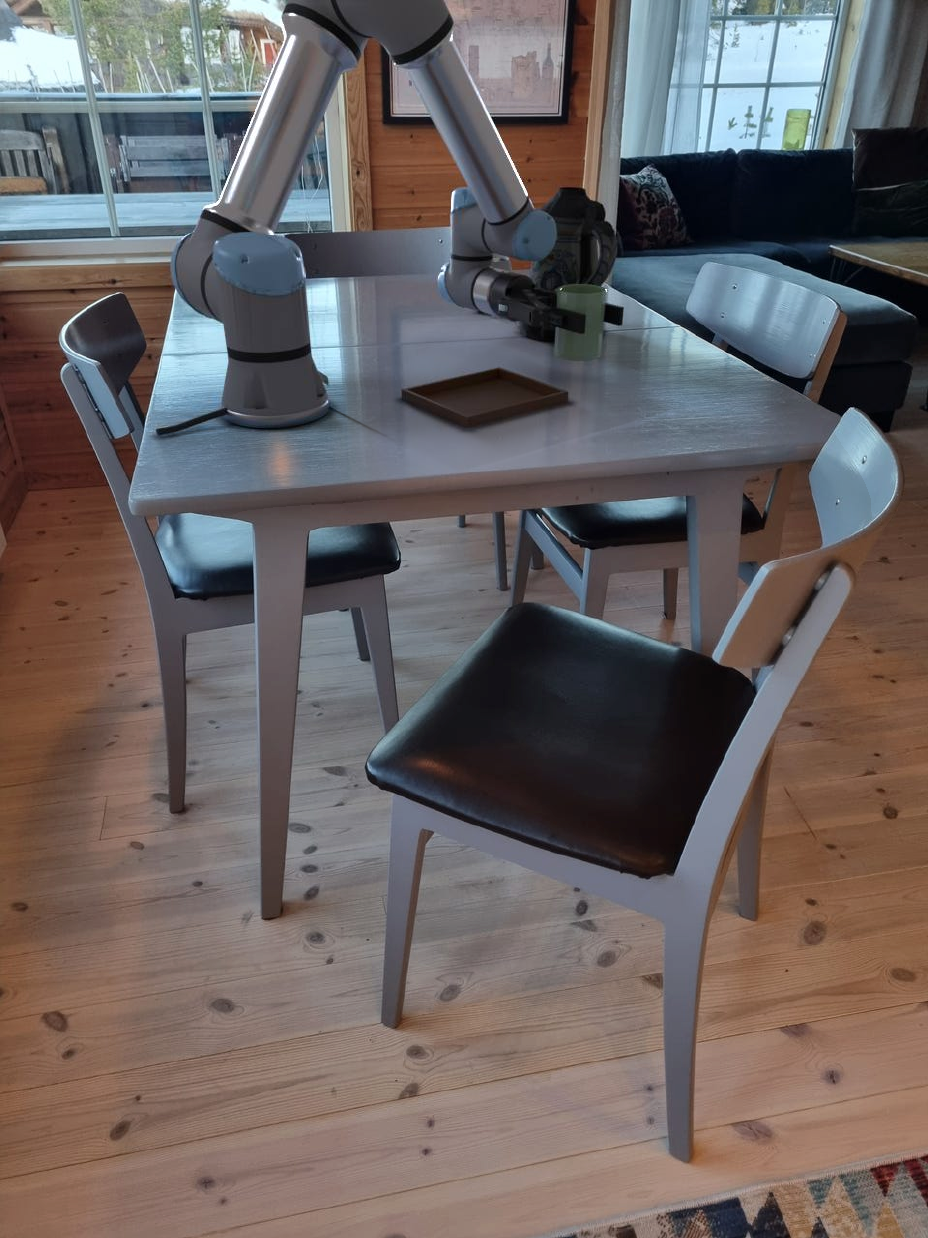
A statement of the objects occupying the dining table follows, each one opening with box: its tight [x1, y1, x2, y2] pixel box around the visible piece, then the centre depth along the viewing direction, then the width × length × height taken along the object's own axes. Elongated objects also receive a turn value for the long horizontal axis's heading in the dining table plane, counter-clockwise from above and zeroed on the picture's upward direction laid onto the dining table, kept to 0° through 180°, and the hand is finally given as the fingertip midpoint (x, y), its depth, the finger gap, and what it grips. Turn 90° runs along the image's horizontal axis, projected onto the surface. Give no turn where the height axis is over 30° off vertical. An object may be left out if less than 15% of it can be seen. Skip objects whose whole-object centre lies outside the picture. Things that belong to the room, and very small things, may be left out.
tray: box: [400, 367, 569, 429], centre depth 131 cm, size 19×16×2 cm
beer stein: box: [518, 186, 618, 343], centre depth 161 cm, size 16×19×25 cm
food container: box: [477, 253, 513, 315], centre depth 182 cm, size 12×6×10 cm, turn 168°
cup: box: [553, 284, 607, 362], centre depth 137 cm, size 7×7×10 cm
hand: (602, 320), depth 133 cm, fingers closed on cup, 7 cm apart
